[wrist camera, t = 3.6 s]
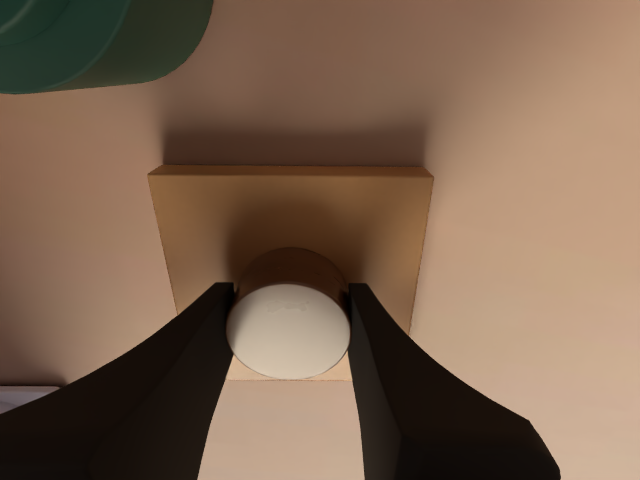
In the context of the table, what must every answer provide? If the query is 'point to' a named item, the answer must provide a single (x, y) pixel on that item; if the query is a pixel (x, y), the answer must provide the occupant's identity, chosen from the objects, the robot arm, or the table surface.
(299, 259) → the cylinder
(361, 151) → the table surface
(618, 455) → the table surface
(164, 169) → the coaster
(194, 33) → the bottle
